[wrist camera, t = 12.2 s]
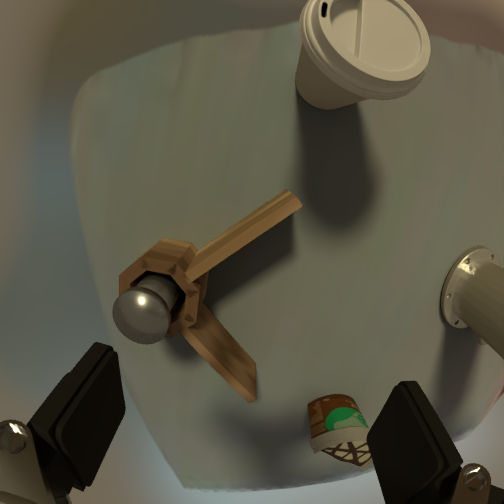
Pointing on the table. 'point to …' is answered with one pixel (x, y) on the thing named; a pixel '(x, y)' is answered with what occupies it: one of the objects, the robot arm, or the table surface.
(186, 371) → the table surface
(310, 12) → the coffee cup
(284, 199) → the hinge
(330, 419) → the food container
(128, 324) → the pin
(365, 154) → the table surface
